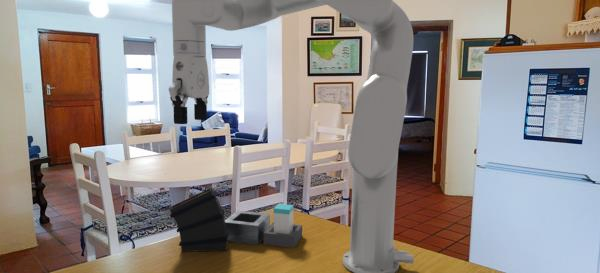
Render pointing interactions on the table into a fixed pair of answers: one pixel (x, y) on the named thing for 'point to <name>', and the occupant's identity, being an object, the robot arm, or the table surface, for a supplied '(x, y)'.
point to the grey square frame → (283, 237)
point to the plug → (283, 219)
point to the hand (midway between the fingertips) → (191, 121)
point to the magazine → (201, 223)
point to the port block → (247, 227)
